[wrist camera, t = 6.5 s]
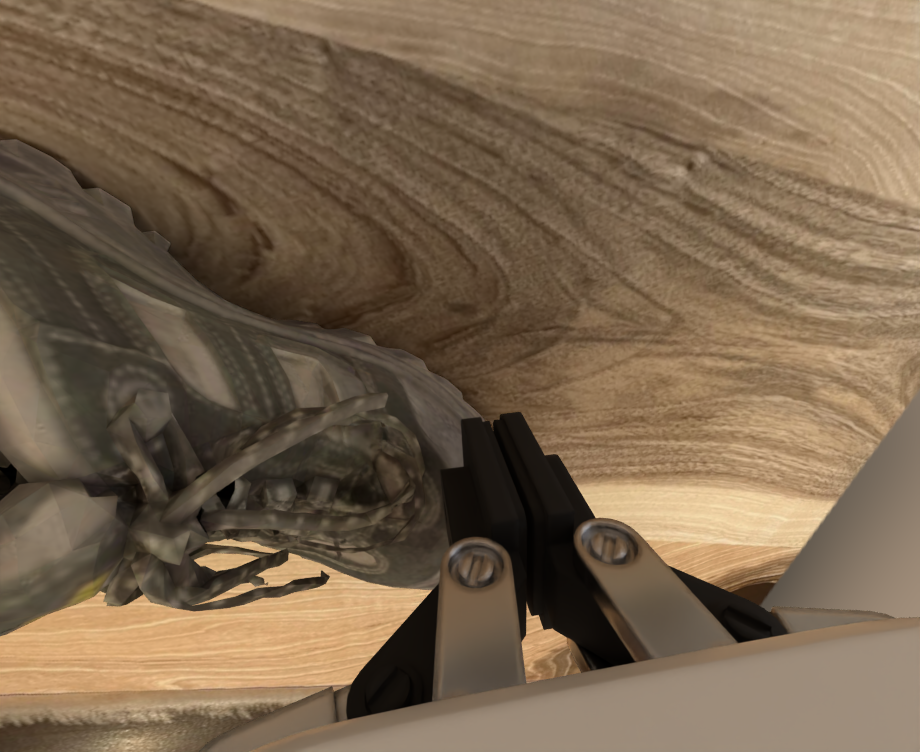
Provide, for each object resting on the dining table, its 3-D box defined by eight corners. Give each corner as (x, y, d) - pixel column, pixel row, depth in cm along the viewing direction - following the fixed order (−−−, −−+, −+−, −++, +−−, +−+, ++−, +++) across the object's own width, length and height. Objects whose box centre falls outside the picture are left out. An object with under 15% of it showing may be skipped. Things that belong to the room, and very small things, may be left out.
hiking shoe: (413, 618, 19) (567, 952, 8) (-154, 372, 13) (-2588, 250, 2) (508, 432, 21) (745, 476, 9) (44, 150, 15) (-702, -537, 4)
